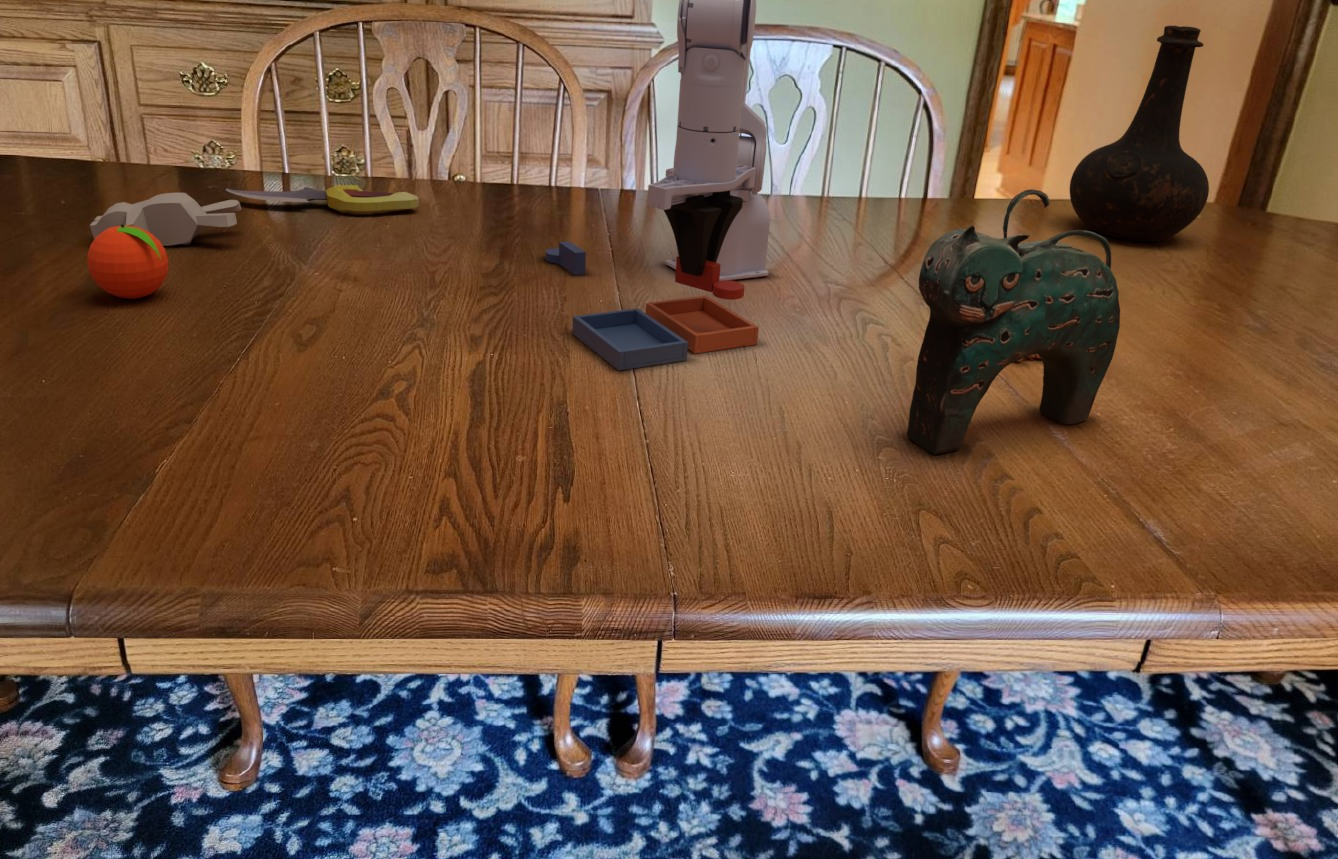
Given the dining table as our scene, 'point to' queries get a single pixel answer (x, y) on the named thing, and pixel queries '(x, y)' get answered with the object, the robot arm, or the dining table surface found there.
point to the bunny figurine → (168, 217)
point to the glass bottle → (1147, 159)
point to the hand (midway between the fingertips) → (697, 271)
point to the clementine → (127, 262)
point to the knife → (341, 198)
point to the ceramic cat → (1010, 326)
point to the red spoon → (711, 281)
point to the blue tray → (629, 339)
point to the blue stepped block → (568, 257)
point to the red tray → (704, 323)
